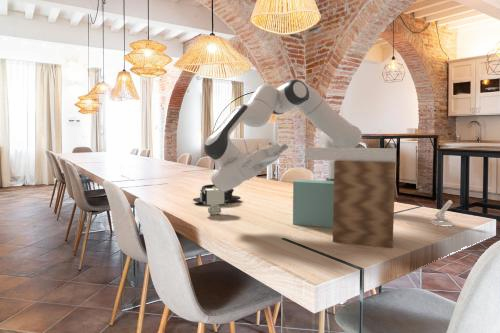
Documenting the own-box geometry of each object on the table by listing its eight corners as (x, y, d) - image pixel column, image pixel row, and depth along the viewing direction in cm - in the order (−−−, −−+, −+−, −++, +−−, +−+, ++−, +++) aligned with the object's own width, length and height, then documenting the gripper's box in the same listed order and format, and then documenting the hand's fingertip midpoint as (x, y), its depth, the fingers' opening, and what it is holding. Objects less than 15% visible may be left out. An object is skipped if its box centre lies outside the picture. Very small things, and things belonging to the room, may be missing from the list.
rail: (305, 159, 124) (305, 147, 123) (308, 158, 128) (308, 147, 127) (395, 162, 114) (396, 149, 113) (395, 161, 117) (396, 148, 117)
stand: (332, 241, 120) (334, 161, 117) (337, 234, 129) (339, 159, 127) (392, 248, 113) (395, 162, 111) (392, 239, 122) (395, 160, 120)
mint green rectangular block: (292, 224, 143) (293, 181, 141) (297, 219, 150) (298, 179, 149) (337, 228, 137) (338, 183, 135) (340, 223, 144) (341, 181, 143)
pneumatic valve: (229, 214, 160) (228, 186, 159) (202, 216, 157) (201, 187, 156) (225, 211, 166) (225, 185, 165) (199, 213, 162) (199, 186, 161)
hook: (461, 216, 134) (444, 203, 137) (442, 237, 141) (425, 225, 144) (468, 209, 139) (451, 197, 142) (448, 229, 146) (433, 218, 149)
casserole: (201, 208, 175) (201, 190, 174) (187, 201, 191) (187, 185, 190) (247, 203, 187) (247, 186, 187) (230, 197, 203) (230, 182, 203)
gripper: (234, 158, 124) (269, 138, 119) (256, 155, 143) (286, 138, 138) (243, 175, 123) (278, 155, 118) (264, 170, 142) (294, 153, 137)
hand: (283, 146), depth 128 cm, fingers open, 8 cm apart
